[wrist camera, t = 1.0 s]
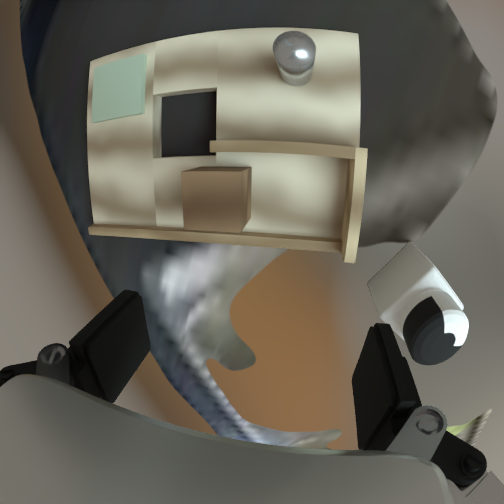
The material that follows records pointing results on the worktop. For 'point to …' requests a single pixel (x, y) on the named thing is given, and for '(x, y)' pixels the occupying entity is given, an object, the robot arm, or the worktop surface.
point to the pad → (119, 89)
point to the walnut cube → (216, 198)
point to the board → (240, 142)
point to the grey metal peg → (295, 57)
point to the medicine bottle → (420, 306)
